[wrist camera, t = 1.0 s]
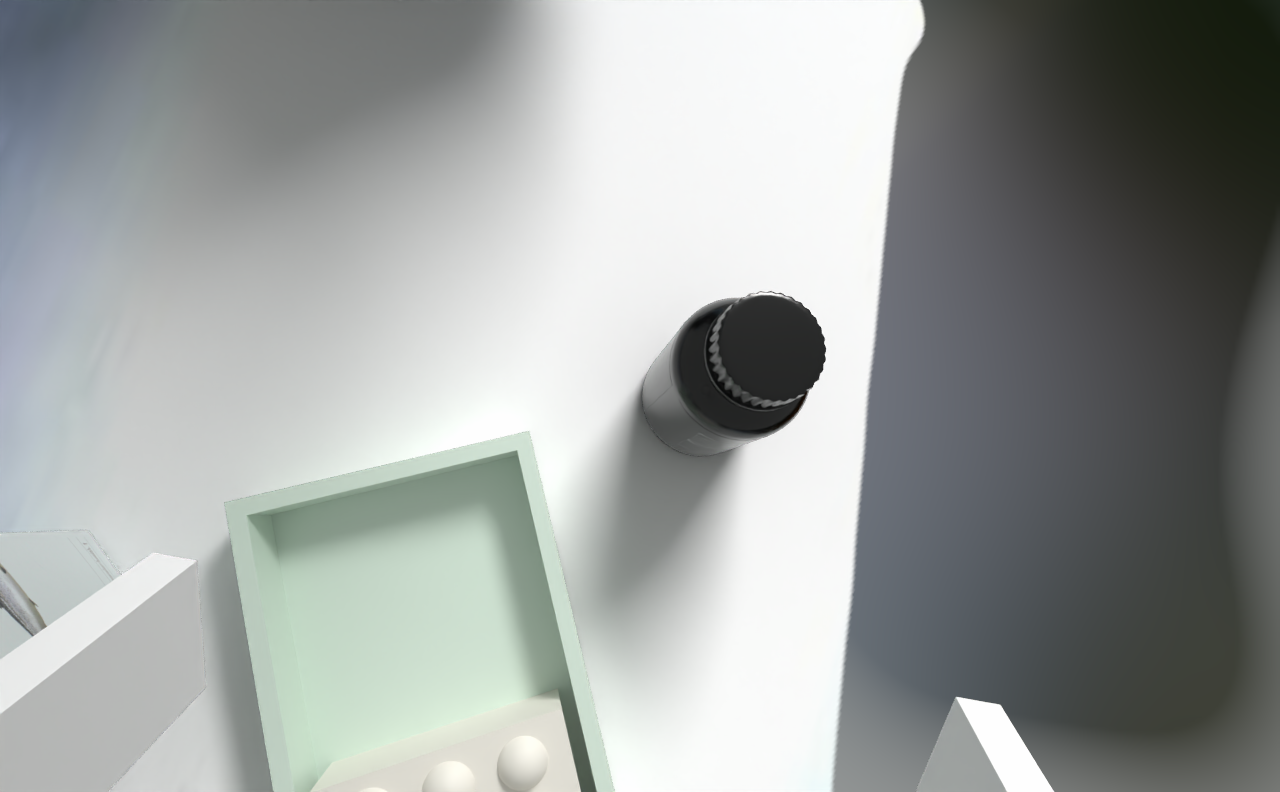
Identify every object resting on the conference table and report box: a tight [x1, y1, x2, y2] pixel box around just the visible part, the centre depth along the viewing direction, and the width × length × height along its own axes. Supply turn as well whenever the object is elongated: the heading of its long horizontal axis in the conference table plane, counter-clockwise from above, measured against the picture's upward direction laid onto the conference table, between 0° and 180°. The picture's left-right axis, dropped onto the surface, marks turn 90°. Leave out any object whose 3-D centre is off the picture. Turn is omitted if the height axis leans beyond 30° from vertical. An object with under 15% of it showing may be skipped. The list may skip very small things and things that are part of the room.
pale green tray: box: [224, 431, 615, 792], centre depth 30 cm, size 20×14×4 cm
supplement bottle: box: [642, 291, 826, 456], centre depth 31 cm, size 7×7×12 cm
